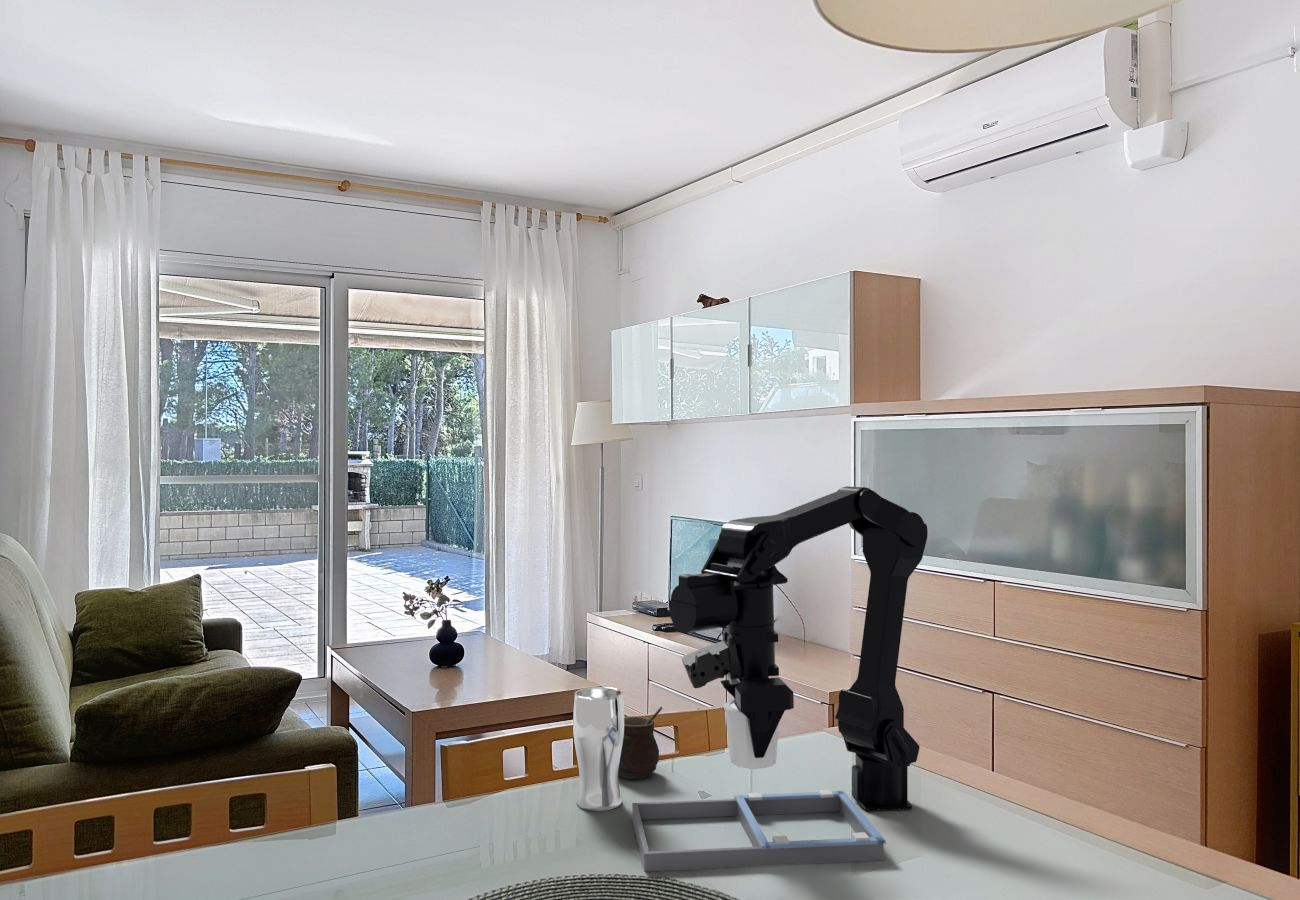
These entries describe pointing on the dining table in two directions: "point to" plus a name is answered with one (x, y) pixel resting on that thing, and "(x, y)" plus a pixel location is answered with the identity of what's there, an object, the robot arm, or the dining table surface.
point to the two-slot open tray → (763, 853)
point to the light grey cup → (746, 741)
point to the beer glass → (598, 746)
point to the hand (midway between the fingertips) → (753, 748)
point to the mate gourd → (639, 748)
